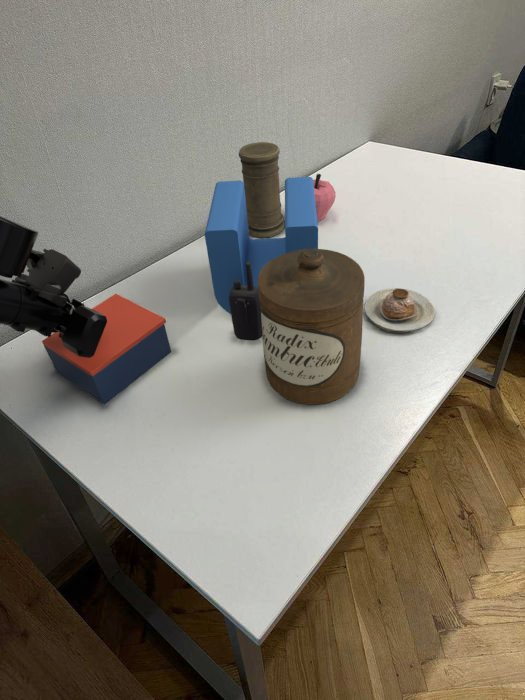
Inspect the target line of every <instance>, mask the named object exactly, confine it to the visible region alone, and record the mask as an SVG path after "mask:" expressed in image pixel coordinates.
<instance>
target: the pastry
mask: <svg viewBox="0 0 525 700" xmlns="http://www.w3.org/2000/svg"><path fill="white" fill-rule="evenodd" d="M364 312H365V314H366V317H368V319H369V320H370V321H371V323H372V324H373V325H374V326H375V327H377V328H378V329H381V330H383V331H385V332H387V333H398V334H405V333H409V332H413V331H416V330H419V329H422V328H424V327H426V326H428V325H429V324H430V323H431V322H432V321H433V319H434V317H435V307H434V305H433V304H432V302H431V301H430V299H428V297H426V296H424V295H423V294H422V293H419V292H417V291H415V290H411V289H409V288H408V289H407V288H400V287H399V288H398V287H396V288H395V287H393V288H384V289H381V290H378V291H376V292H374V293H373V294H371V295H370V296H368V298H367V299H366V301H365V303H364Z"/></svg>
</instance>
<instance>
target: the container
mask: <svg viewBox="0 0 525 700" xmlns="http://www.w3.org/2000/svg"><path fill="white" fill-rule="evenodd" d="M280 153H281V150H280V148H279V146H278V145H277V144H275V143H273V142H268V141H257V142H252V143H248V144H245V145H242V146H241V147H240V148H239V150H238V158H239V160H240V163H241V174H242V180H243V183H244V189H245V200H246V210H247V220H248V230H249V236H252V237H255V238H259V239H268V238H272V237H274V236H277V235H279V234H281V233H282V232H283V230H284V229H285V220H284V215H283V213H282V202H281V193H280V192H281V191H280V173H279V171H280V166H279V158H280V157H279V155H280Z"/></svg>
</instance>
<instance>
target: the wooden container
mask: <svg viewBox="0 0 525 700" xmlns="http://www.w3.org/2000/svg"><path fill="white" fill-rule="evenodd" d="M365 282H366V279H365V273H364V270H363V269H362V267H361V265H360V264H359V263H358V262H357V261H356V260H355V259H353V258H351V257H350V256H348V255H346V254H344V253H341V252H338V251H336V250H330V249H324V248H318V249H303V250H297V251H292V252H288V253H285V254H283V255H280V256H278V257H276V258H274V259H272V260H271V261H269V262H268V263H267V264H266V265H265V266H264V267H263V268H262V270H261V271H260V273H259V276H258V293H259V300H260V305H261V319H262V337H261V338H262V348H263V349H262V350H263V356H264V368H265V375H266V379H267V382H268V384H269V386H270V387H271V388H272V389H273V390H274V391H275V392H276V393H277V394H278V395H279V396H281V397H282V398H284V399H286V400H289V401H291V402H293V403H298V404H304V405H321V404H322V405H323V404H327V403H331V402H334V401H336V400H339V399H341V398H343V397H344V396H346V395H347V394H349V393H350V391H351V390H352V389H353V388H354V387H355V386H356V384H357V382H358V380H359V377H360V376H359V375H360V366H361V356H362V343H363V321H364V320H363V319H364V318H363V316H364V297H365Z"/></svg>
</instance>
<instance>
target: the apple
mask: <svg viewBox="0 0 525 700" xmlns="http://www.w3.org/2000/svg"><path fill="white" fill-rule="evenodd" d="M321 177H322V174H321V173H317V174H316V176H315V179H313V184H314V194H315V204H316V213H317V222H321V221H322V220H323V219H325V217H326V216H327V214H328V212H329V211H330V210H331V209H332V207H333V205H334V203H335V201H336V196H337V195H336V190H335V188H334V185H332V184H331V183H330V181H328V180H323V179H322V180H321Z"/></svg>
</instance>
